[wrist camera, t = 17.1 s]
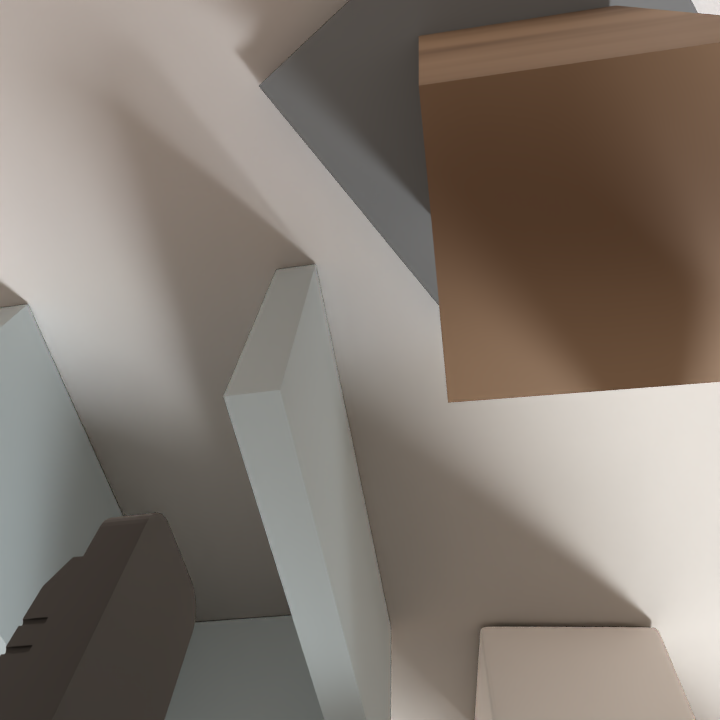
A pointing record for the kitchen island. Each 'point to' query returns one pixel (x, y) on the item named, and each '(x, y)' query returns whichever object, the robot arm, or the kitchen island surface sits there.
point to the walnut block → (575, 201)
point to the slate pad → (389, 103)
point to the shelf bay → (274, 500)
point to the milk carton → (577, 675)
